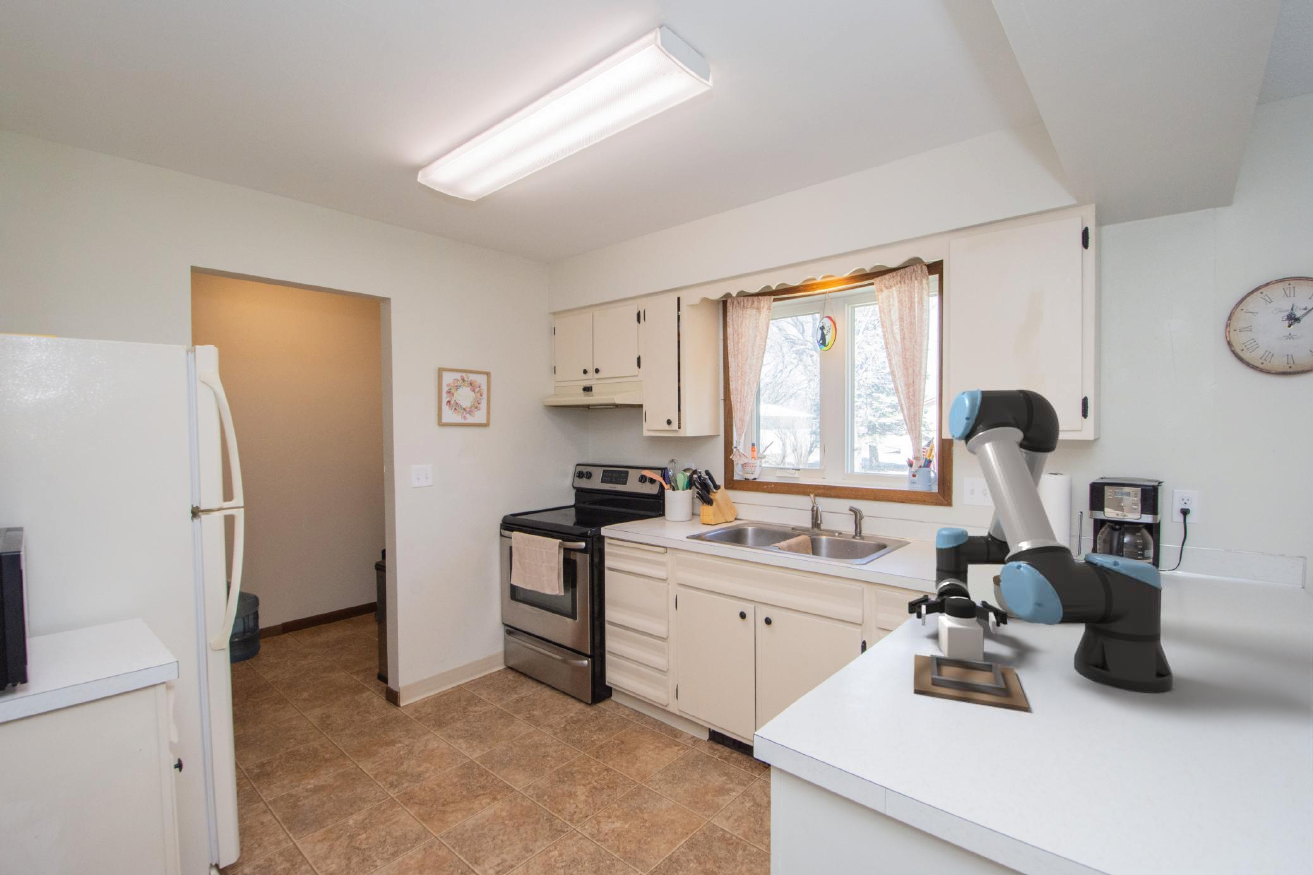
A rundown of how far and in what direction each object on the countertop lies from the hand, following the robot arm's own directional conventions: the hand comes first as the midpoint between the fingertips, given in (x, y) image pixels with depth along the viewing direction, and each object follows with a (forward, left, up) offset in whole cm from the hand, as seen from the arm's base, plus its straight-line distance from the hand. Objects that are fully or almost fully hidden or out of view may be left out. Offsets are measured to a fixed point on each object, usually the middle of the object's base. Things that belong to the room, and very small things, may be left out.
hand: (958, 623), depth 127 cm
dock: (0, +16, -6) cm, 17 cm away
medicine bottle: (0, +1, -7) cm, 7 cm away
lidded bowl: (-16, -35, -7) cm, 39 cm away
